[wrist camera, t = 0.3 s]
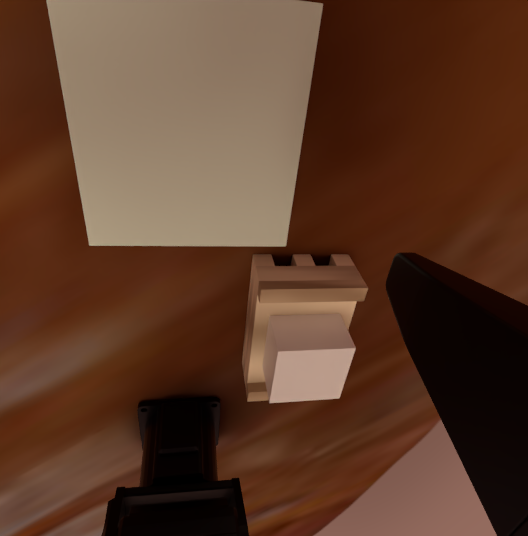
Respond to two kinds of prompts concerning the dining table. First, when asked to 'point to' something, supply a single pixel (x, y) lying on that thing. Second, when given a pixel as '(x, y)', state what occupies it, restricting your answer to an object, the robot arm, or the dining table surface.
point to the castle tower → (294, 302)
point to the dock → (186, 116)
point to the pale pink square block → (306, 357)
